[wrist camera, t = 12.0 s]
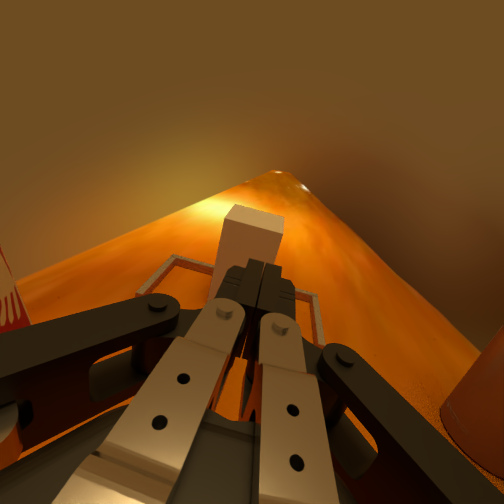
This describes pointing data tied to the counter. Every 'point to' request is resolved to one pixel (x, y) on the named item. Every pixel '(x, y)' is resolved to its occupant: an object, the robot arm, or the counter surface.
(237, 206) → the carton
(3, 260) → the milk carton
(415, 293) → the counter surface
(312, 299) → the metal staple
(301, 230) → the counter surface
